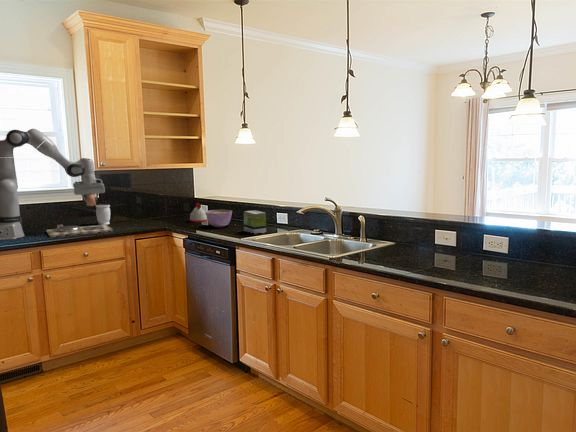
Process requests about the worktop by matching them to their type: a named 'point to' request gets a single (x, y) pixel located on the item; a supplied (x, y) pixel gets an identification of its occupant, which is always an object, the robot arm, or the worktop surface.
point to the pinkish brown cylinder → (90, 199)
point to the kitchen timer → (198, 214)
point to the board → (81, 230)
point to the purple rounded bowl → (219, 217)
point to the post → (67, 228)
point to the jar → (103, 214)
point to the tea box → (254, 221)
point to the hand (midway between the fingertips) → (90, 200)
